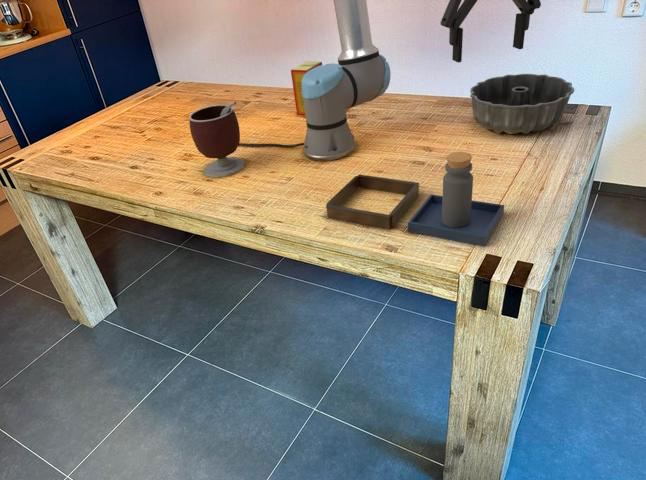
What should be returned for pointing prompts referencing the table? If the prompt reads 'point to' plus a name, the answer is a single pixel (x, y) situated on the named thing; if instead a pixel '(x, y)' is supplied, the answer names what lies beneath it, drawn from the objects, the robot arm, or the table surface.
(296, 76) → the baking soda box
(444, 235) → the tray
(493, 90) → the bundt pan
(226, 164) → the mate gourd
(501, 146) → the table surface
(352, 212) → the dark brown square frame
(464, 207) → the bottle
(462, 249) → the table surface
